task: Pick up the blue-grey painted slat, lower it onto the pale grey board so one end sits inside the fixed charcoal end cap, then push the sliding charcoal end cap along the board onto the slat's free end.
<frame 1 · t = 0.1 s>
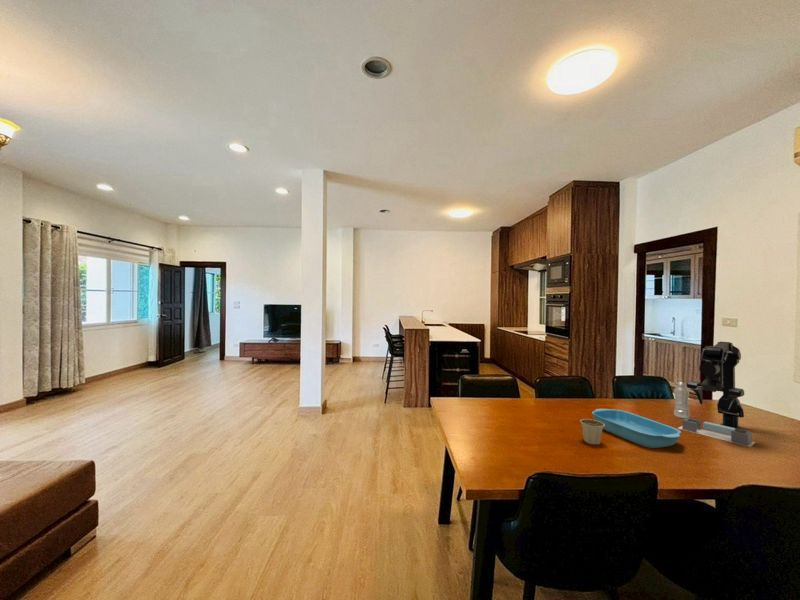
hand: (714, 406, 152), 14 cm above the table, fingers open, 9 cm apart
board: (714, 436, 153), on the table
slat: (723, 434, 157), on the table
flower pot: (592, 442, 145), on the table
plastic bottle: (681, 418, 179), on the table
casserole dish: (633, 435, 154), on the table
cap fixed: (691, 429, 160), resting on board
cap sliding: (741, 436, 146), point 3 cm above the table, slide at 0.0 cm
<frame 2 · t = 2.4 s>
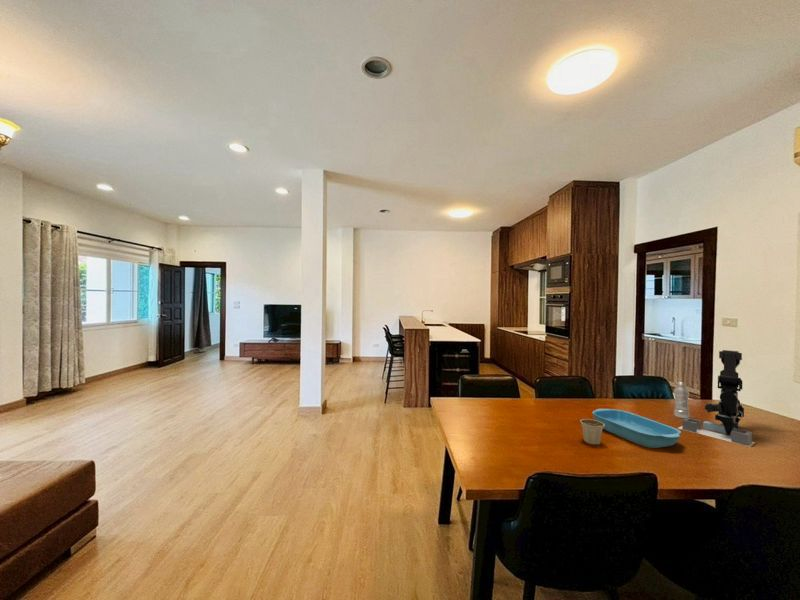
hand: (729, 433, 155), 1 cm above the table, fingers closed on slat, 3 cm apart
slat: (723, 434, 157), on the table, touching gripper
everything else where it was.
when the fingers open (2 cm above the table, at t = 6.0 s): slat stays where it is, resting on board.
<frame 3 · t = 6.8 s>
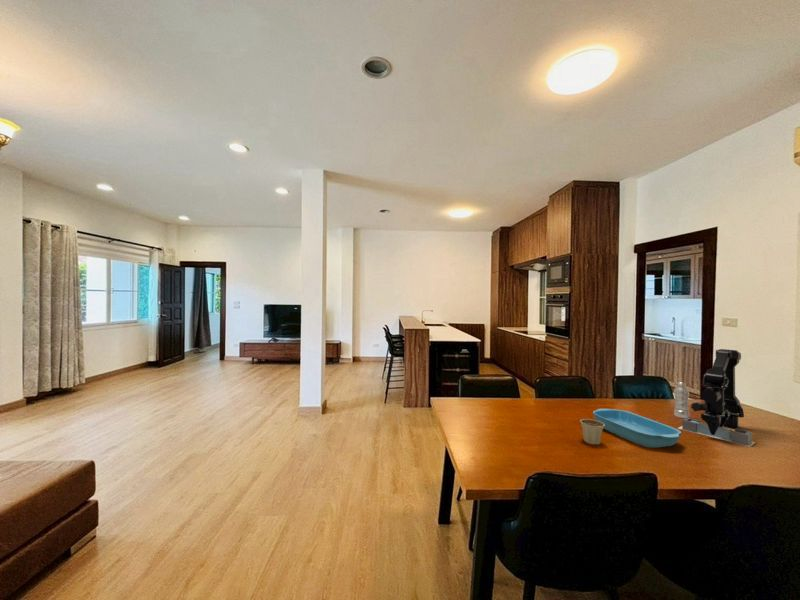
hand: (715, 432, 153), 2 cm above the table, fingers open, 9 cm apart
slat: (709, 434, 154), point 1 cm above the table, touching board
everything else where it was.
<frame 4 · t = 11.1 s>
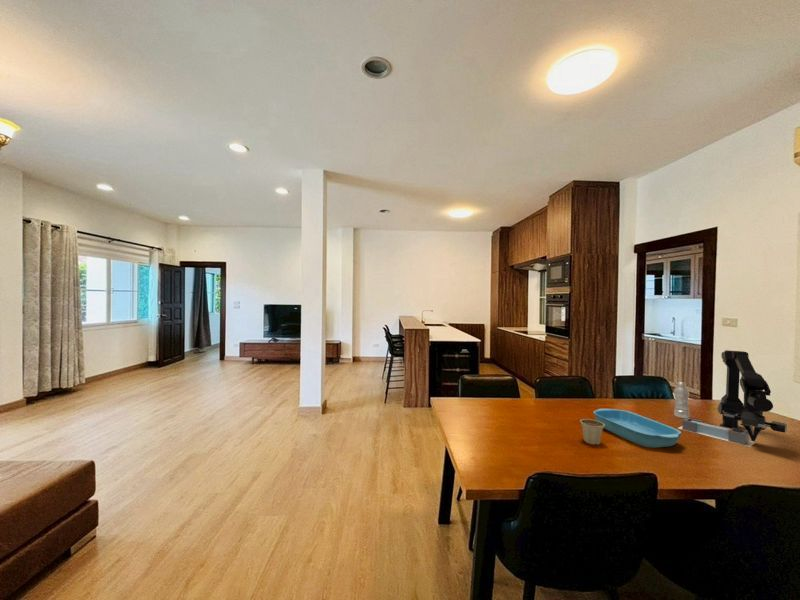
hand: (753, 441, 143), 2 cm above the table, fingers closed
cap sliding: (738, 435, 146), point 3 cm above the table, slide at 0.9 cm, touching gripper
everything else where it was.
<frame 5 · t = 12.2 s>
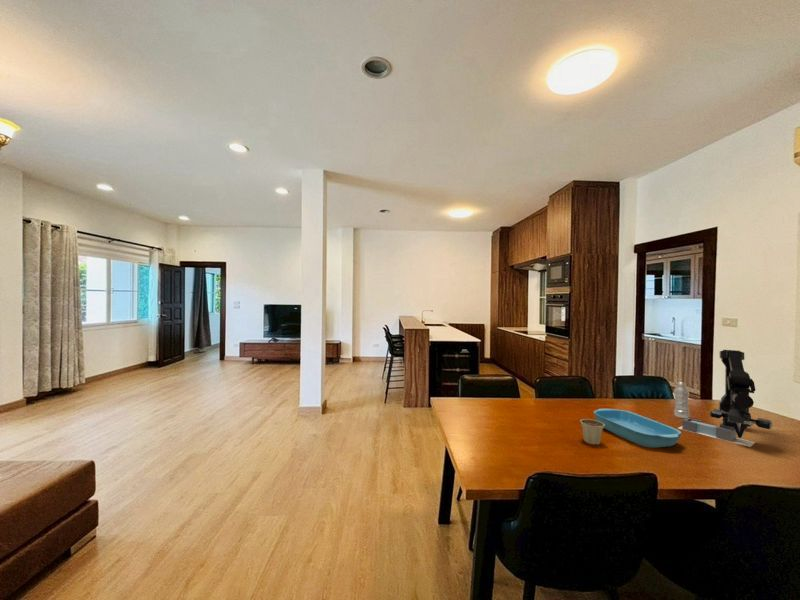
hand: (739, 437, 146), 2 cm above the table, fingers closed
slat: (709, 434, 154), point 1 cm above the table, touching board, cap sliding
cap sliding: (726, 432, 150), point 3 cm above the table, slide at 5.0 cm, touching gripper, slat
everything else where it was.
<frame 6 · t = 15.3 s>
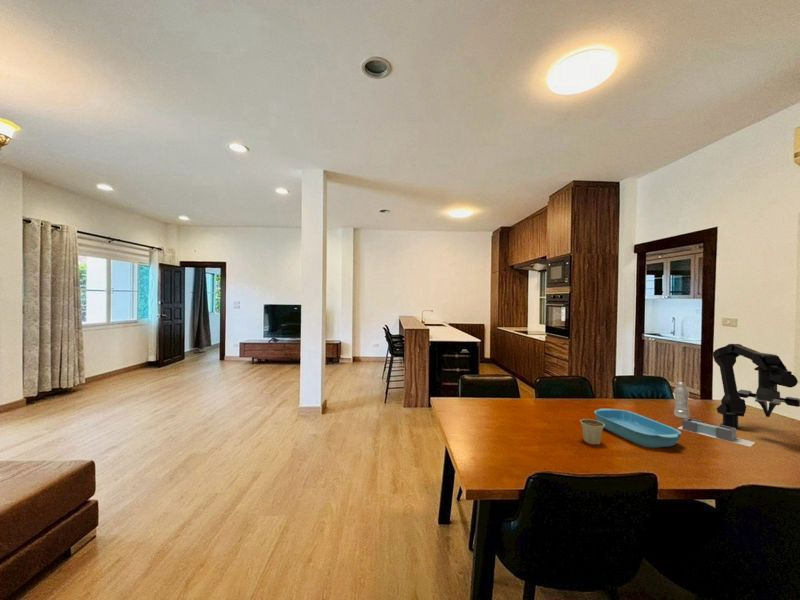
hand: (767, 416, 147), 12 cm above the table, fingers closed
cap sliding: (726, 432, 150), point 3 cm above the table, slide at 5.0 cm, touching slat
at the end: slat 0.2 cm from the target spot, point 0.8 cm above the table; slat tilted 0°; cap sliding slide at 5.0 cm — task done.
